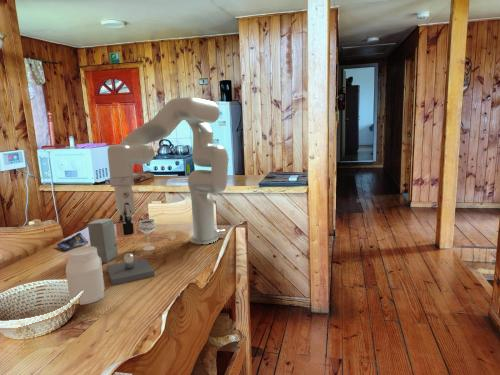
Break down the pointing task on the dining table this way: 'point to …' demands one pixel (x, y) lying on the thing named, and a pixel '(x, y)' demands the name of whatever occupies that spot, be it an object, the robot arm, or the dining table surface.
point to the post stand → (129, 270)
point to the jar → (85, 274)
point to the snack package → (72, 242)
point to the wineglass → (147, 230)
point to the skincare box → (103, 238)
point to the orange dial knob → (120, 229)
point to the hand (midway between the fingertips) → (126, 231)
